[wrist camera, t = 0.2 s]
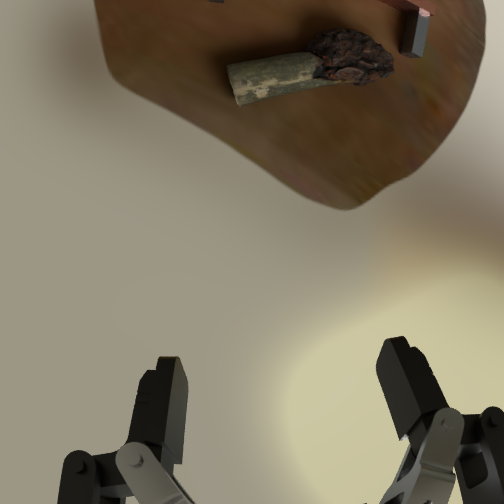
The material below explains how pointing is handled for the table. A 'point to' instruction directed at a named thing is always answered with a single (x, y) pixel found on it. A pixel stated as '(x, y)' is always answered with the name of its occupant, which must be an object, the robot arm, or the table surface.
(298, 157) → the table surface
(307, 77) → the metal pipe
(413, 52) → the brown pull handle
